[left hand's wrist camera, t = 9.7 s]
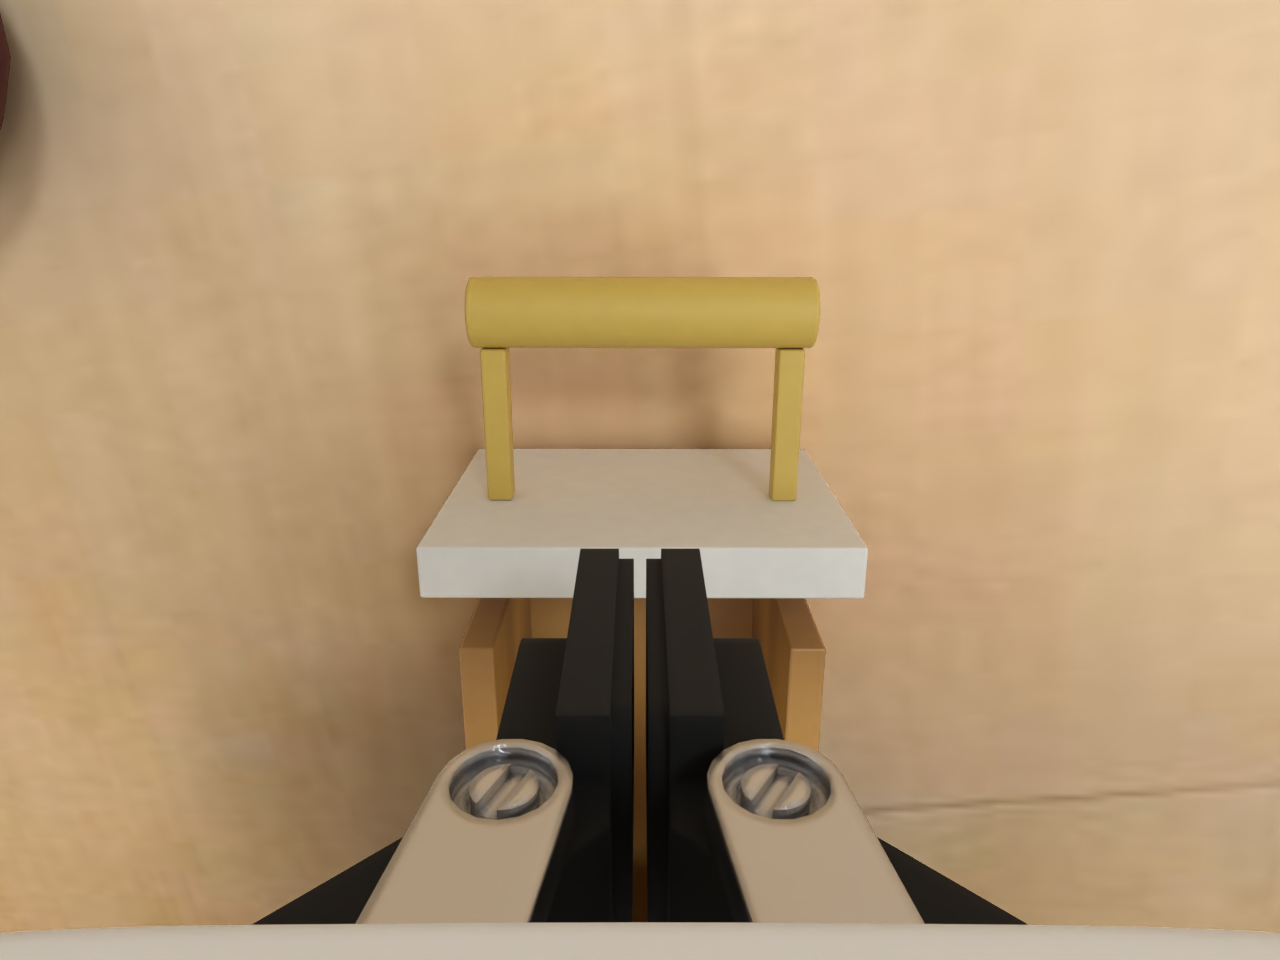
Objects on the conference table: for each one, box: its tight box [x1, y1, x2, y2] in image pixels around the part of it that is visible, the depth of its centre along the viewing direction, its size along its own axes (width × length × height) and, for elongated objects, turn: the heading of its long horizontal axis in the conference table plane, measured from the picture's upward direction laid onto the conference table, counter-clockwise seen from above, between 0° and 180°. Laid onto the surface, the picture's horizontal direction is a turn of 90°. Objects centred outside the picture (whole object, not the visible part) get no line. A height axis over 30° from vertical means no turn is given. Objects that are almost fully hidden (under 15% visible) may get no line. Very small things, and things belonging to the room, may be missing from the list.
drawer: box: [416, 277, 868, 922], centre depth 24 cm, size 24×10×8 cm, turn 0°
